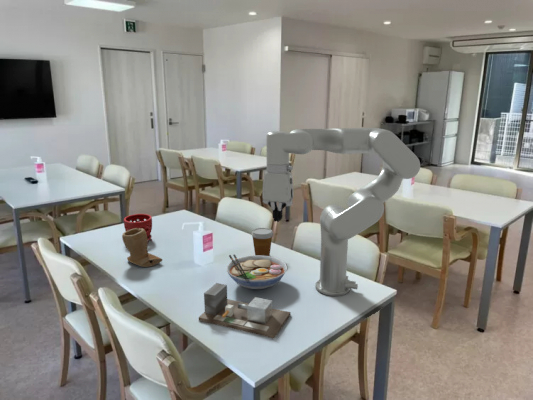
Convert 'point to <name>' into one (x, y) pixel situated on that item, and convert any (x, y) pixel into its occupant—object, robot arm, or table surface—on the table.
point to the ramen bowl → (256, 271)
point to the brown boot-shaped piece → (139, 248)
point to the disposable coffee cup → (262, 241)
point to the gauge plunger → (258, 310)
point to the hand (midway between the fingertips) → (277, 220)
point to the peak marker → (228, 311)
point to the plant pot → (139, 223)
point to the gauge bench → (238, 314)
